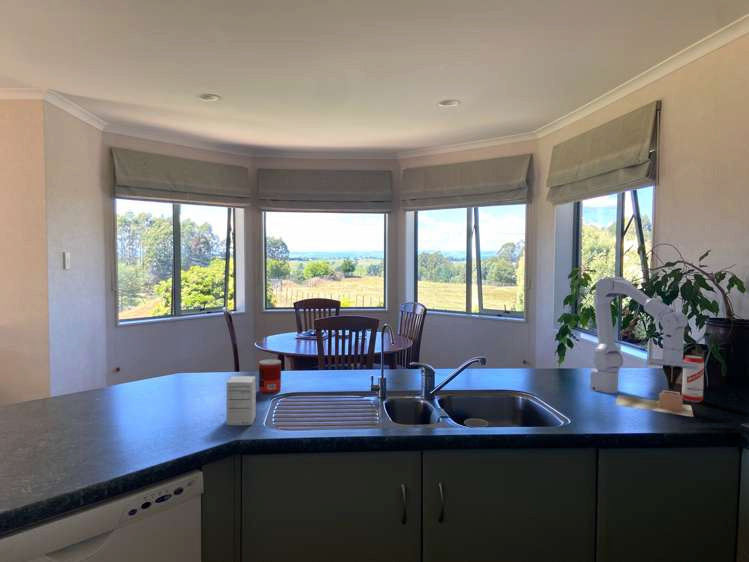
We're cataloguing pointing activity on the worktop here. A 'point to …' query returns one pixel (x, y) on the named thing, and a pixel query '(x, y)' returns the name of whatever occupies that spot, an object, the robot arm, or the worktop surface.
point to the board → (650, 405)
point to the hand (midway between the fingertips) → (671, 388)
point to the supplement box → (241, 400)
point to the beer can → (693, 380)
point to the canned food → (269, 376)
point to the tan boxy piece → (670, 400)
